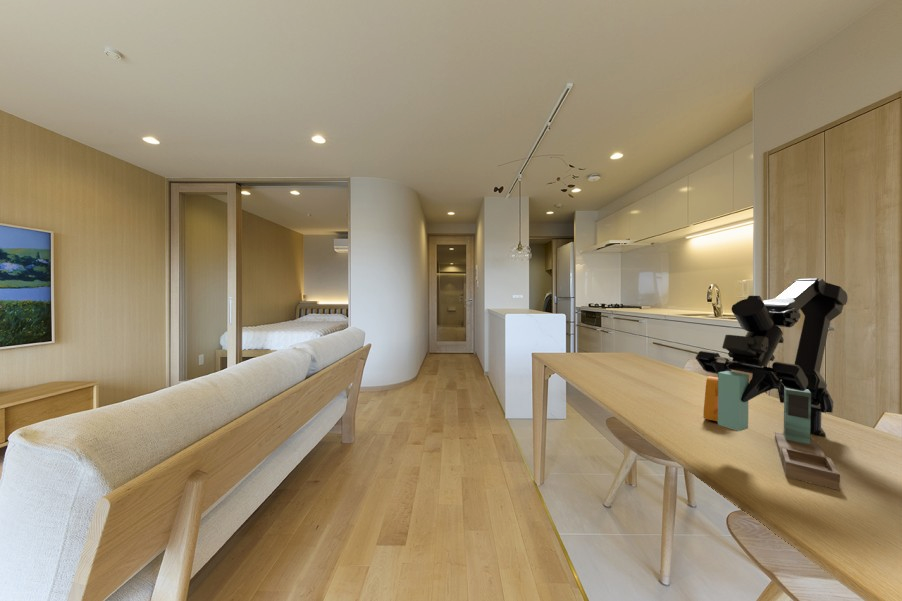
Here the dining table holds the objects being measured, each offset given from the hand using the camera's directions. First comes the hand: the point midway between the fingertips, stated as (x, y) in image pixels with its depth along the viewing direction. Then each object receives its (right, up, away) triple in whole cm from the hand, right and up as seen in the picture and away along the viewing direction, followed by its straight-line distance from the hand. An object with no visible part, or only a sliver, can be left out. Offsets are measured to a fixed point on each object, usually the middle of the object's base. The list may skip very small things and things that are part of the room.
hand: (730, 397), depth 72 cm
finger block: (+1, -7, +1) cm, 7 cm away
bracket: (+16, -13, +21) cm, 30 cm away
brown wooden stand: (+14, -13, -1) cm, 20 cm away
